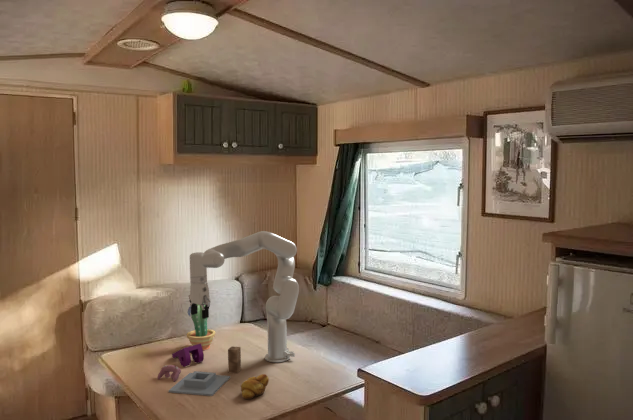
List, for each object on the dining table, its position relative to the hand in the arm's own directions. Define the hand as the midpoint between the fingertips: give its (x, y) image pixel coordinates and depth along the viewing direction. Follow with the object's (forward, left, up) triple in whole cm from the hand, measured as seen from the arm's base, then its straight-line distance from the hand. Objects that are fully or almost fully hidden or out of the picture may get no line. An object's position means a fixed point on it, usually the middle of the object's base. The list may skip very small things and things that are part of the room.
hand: (199, 316), depth 236 cm
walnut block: (-14, -6, -28) cm, 32 cm away
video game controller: (+12, +8, -28) cm, 31 cm away
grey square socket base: (-5, +12, -28) cm, 30 cm away
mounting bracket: (+15, -15, -28) cm, 35 cm away
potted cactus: (+16, -34, -28) cm, 47 cm away
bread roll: (-31, +17, -28) cm, 45 cm away
